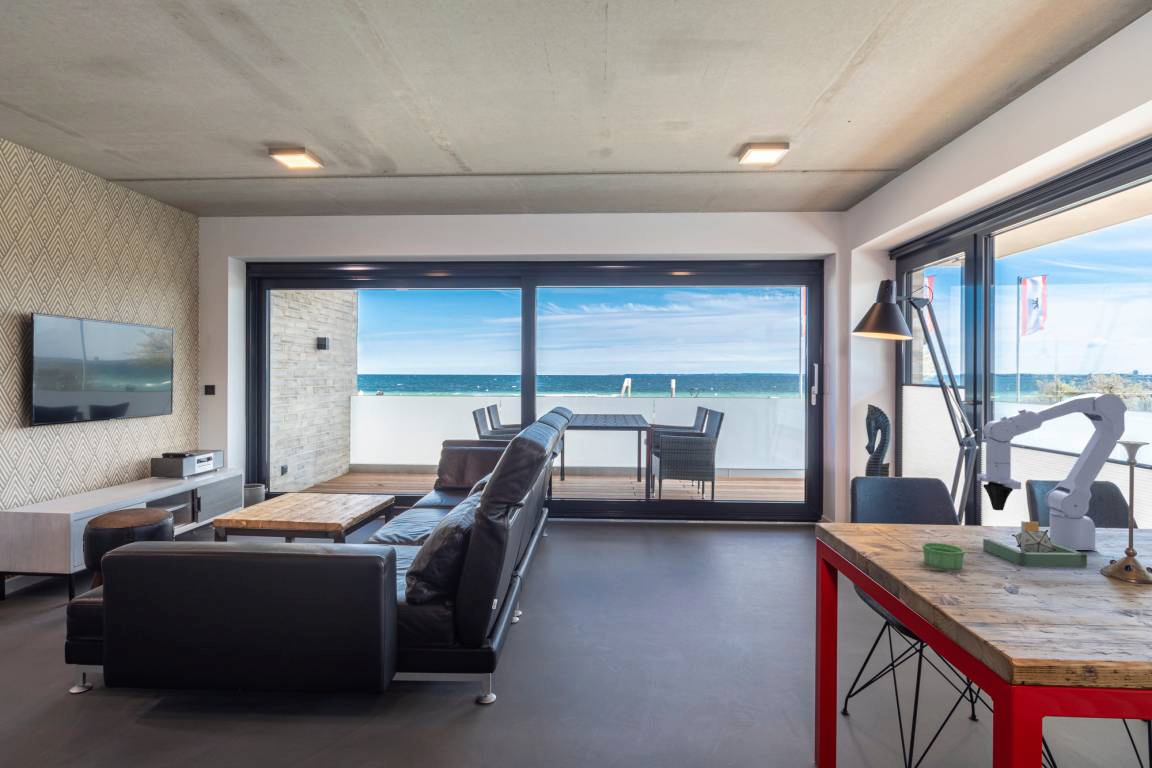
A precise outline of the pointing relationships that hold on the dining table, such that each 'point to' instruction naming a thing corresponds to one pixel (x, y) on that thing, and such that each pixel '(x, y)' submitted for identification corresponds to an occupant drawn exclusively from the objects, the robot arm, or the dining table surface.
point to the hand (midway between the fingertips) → (997, 509)
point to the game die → (1035, 541)
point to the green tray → (1036, 559)
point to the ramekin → (943, 555)
